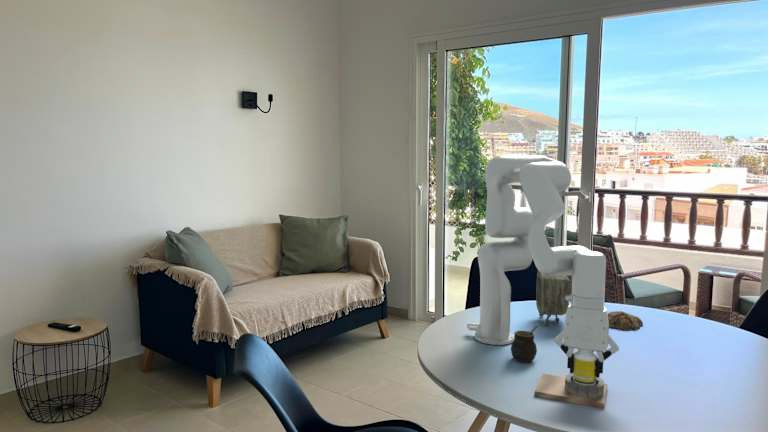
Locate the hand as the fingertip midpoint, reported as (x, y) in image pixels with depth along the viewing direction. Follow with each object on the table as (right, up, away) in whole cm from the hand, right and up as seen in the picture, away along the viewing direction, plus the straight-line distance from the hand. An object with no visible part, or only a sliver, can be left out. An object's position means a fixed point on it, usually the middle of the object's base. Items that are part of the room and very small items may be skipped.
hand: (584, 372), depth 135 cm
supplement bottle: (0, -3, 0) cm, 3 cm away
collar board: (-3, -5, +2) cm, 6 cm away
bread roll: (+33, 0, +55) cm, 64 cm away
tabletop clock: (+10, +1, +59) cm, 59 cm away
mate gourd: (-9, -3, +24) cm, 25 cm away
